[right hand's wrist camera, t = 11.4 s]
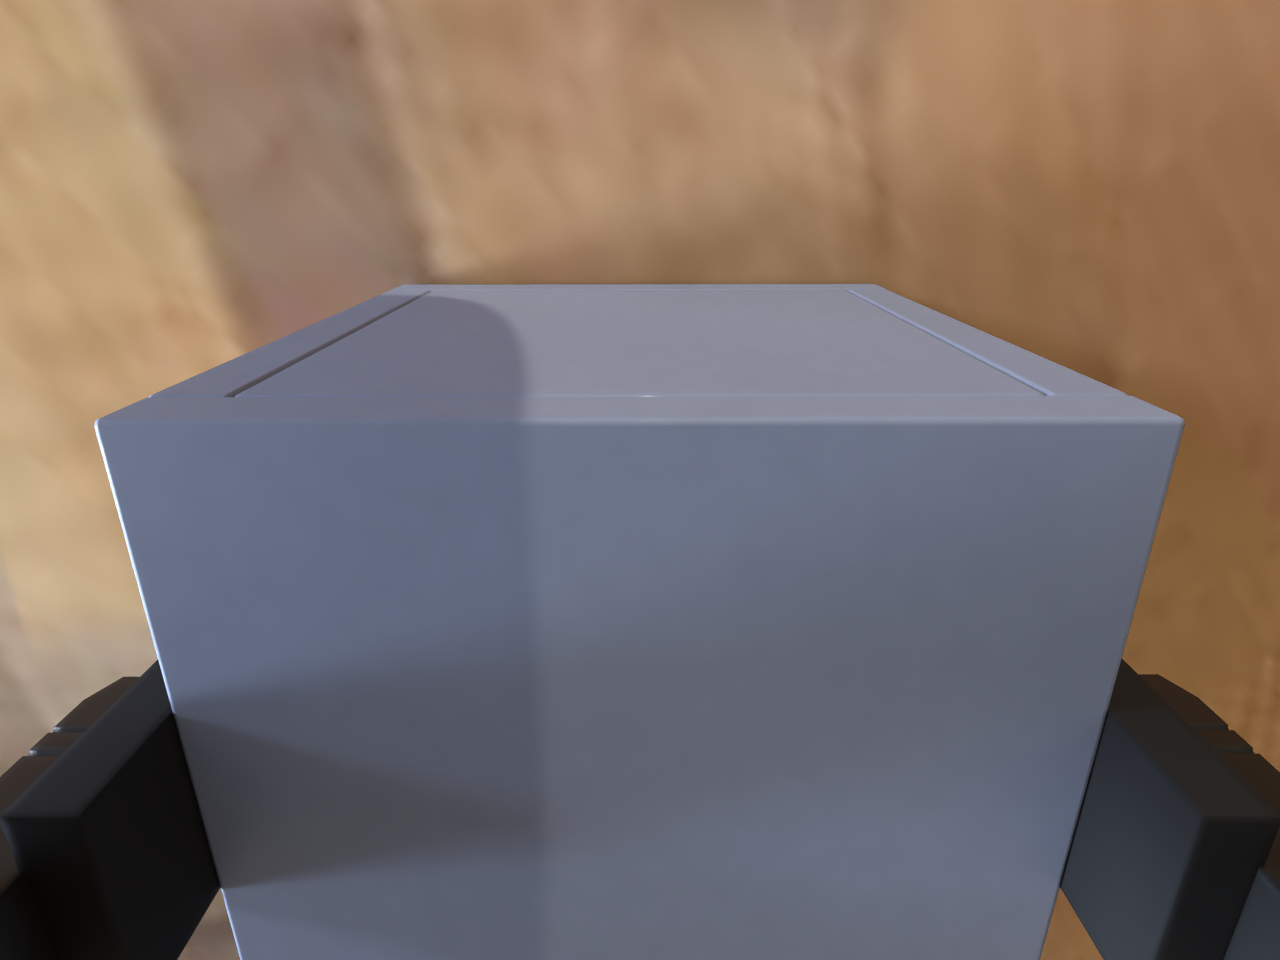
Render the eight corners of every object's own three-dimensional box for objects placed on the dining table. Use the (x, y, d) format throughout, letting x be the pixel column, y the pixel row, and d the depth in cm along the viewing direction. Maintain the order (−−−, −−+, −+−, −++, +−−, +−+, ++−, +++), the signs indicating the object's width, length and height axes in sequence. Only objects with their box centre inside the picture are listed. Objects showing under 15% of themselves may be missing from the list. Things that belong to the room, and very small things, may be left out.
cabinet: (807, 910, 24) (922, 1402, 14) (472, 911, 24) (360, 1404, 14) (876, 283, 17) (1191, 417, 7) (401, 284, 17) (88, 419, 7)
